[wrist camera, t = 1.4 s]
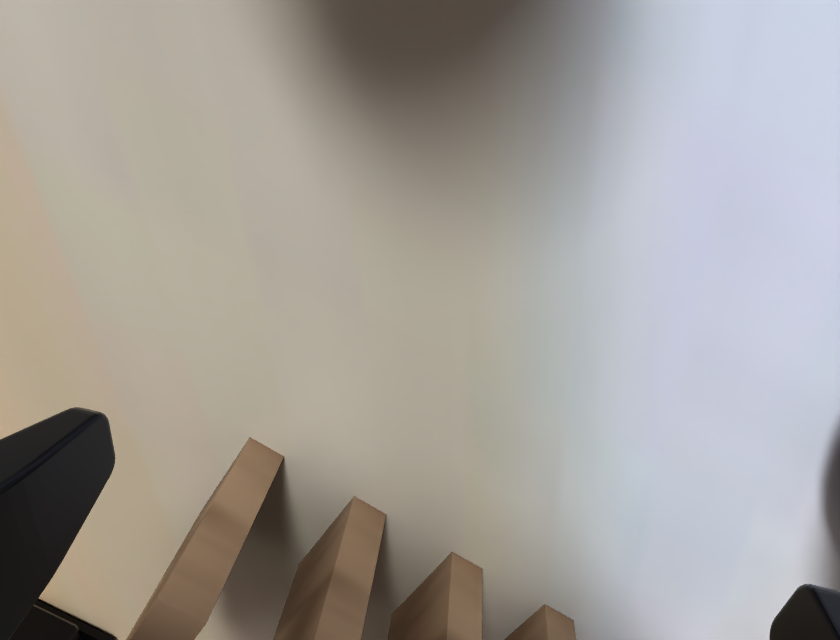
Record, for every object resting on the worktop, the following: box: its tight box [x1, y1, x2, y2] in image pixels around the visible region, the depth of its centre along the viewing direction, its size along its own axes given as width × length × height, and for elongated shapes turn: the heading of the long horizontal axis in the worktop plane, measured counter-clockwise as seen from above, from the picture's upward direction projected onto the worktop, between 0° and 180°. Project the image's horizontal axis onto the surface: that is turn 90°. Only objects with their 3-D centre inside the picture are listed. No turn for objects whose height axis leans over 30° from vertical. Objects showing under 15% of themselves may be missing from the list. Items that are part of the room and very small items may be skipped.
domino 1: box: [126, 438, 284, 640], centre depth 23 cm, size 5×2×8 cm, turn 147°
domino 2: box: [273, 497, 386, 640], centre depth 24 cm, size 5×2×8 cm, turn 147°
